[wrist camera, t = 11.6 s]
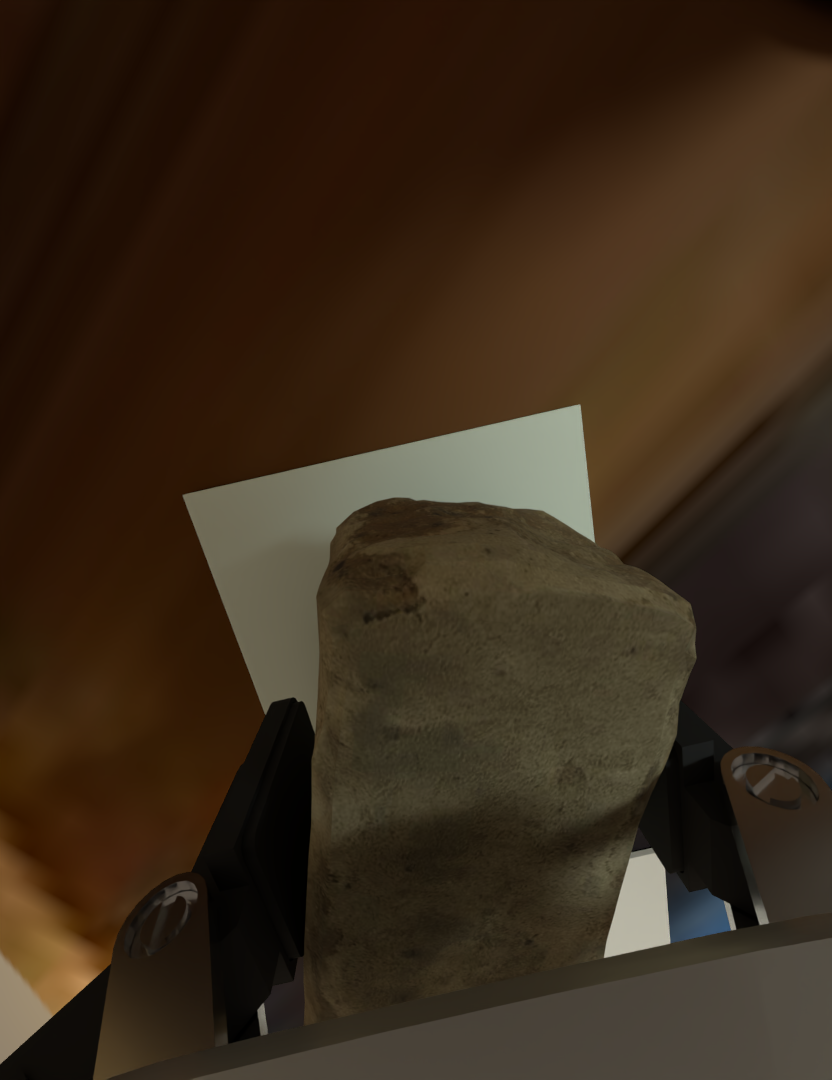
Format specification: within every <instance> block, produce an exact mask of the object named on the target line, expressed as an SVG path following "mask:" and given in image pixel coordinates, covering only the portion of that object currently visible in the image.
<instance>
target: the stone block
mask: <svg viewBox="0 0 832 1080" xmlns="http://www.w3.org/2000/svg"><path fill="white" fill-rule="evenodd" d="M316 601H317V618H318V634H319V676H318V698H317V714H316V730H315V745H314V750H313V756H312V807H311V833H310V845H309V858H308V877H307V897H306V917H305V938H304V994H305V1014H304V1026H306V1025H310V1024H314V1023H319V1022H323V1021H327V1020H331V1019H336V1018H340V1017H344V1016H349V1015H353V1014H357V1013H362V1012H366V1011H370V1010H375V1009H379V1008H383V1007H388V1006H392V1005H396V1004H401V1003H405V1002H409V1001H414V1000H418V999H423V998H427V997H432V996H436V995H440V994H445V993H449V992H454V991H458V990H463V989H467V988H471V987H476V986H480V985H485V984H489V983H494V982H498V981H503V980H507V979H511V978H516V977H520V976H525V975H529V974H534V973H538V972H543V971H547V970H552V969H556V968H561V967H565V966H570V965H574V964H579V963H583V962H588V961H593V960H597V959H602V958H604V954H605V948H606V942H607V938H608V935H609V931H610V928H611V924H612V921H613V917H614V913H615V909H616V906H617V902H618V898H619V894H620V890H621V887H622V883H623V880H624V877H625V873H626V870H627V866H628V863H629V859H630V855H631V851H632V847H633V844H634V840H635V836H636V832H637V829H638V825H639V823H640V820H641V818H642V816H643V813H644V811H645V808H646V806H647V803H648V801H649V798H650V796H651V793H652V791H653V789H654V787H655V785H656V783H657V781H658V779H659V777H660V775H661V773H662V771H663V769H664V767H665V765H666V762H667V759H668V757H669V754H670V751H671V749H672V746H673V743H674V741H675V738H676V735H677V725H678V713H679V702H680V700H681V697H682V694H683V691H684V688H685V686H686V683H687V680H688V677H689V675H690V673H691V670H692V668H693V666H694V664H695V661H696V651H695V635H696V625H695V621H694V616H693V612H692V608H691V604H690V603H689V602H688V601H686V600H685V599H683V598H682V597H681V596H679V595H678V594H677V593H675V592H674V591H673V590H671V589H670V588H669V587H667V586H666V585H665V584H663V583H662V582H661V581H659V580H658V579H656V578H655V577H653V576H652V575H650V574H648V573H647V572H645V571H643V570H641V569H639V568H637V567H633V566H628V565H624V564H623V563H622V562H621V560H620V559H619V558H618V557H617V556H616V555H615V554H613V553H612V552H611V551H610V550H607V549H604V548H601V547H599V546H598V545H597V544H596V543H594V542H593V541H592V540H590V539H588V538H587V537H585V536H583V535H582V534H580V533H578V532H577V531H575V530H574V529H572V528H571V527H569V526H568V525H566V524H565V523H563V522H561V521H560V520H558V519H557V518H555V517H553V516H551V515H550V514H548V513H546V512H544V511H542V510H533V509H512V508H508V507H503V506H497V505H490V504H484V503H481V502H461V503H456V502H436V501H429V500H418V501H416V500H413V499H411V498H401V497H394V498H389V499H385V500H380V501H376V502H374V503H372V504H369V505H367V506H365V507H363V508H361V509H358V510H357V511H354V512H353V513H352V514H351V515H349V516H348V517H347V518H346V519H345V520H344V521H343V522H342V523H341V524H340V525H339V526H338V527H337V528H336V534H335V536H334V538H333V539H332V541H331V542H330V560H329V564H328V567H327V569H326V571H325V573H324V576H323V578H322V580H321V583H320V585H319V589H318V592H317V595H316Z"/></svg>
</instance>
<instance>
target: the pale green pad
mask: <svg viewBox="0 0 832 1080" xmlns="http://www.w3.org/2000/svg"><path fill="white" fill-rule="evenodd" d="M182 496H183V498H184V501H185V504H186V506H187V509H188V511H189V514H190V517H191V519H192V522H193V525H194V527H195V530H196V533H197V535H198V538H199V541H200V543H201V546H202V549H203V551H204V554H205V557H206V559H207V562H208V564H209V567H210V570H211V572H212V575H213V578H214V580H215V583H216V586H217V588H218V591H219V594H220V596H221V599H222V602H223V604H224V607H225V610H226V612H227V615H228V617H229V620H230V623H231V625H232V628H233V631H234V633H235V636H236V639H237V641H238V644H239V647H240V649H241V652H242V655H243V657H244V660H245V663H246V665H247V668H248V670H249V673H250V676H251V678H252V681H253V684H254V686H255V689H256V692H257V694H258V697H259V700H260V702H261V705H262V708H263V710H264V713H265V715H266V713H267V711H268V709H269V706H270V705H271V703H272V702H274V701H279V700H283V699H287V698H292V697H294V698H296V700H297V701H298V702H300V701H303V702H304V704H305V706H306V709H307V712H308V715H309V718H310V721H311V724H312V727H313V729H314V732H315V730H316V714H317V698H318V676H319V634H318V618H317V601H316V595H317V592H318V589H319V585H320V583H321V580H322V578H323V576H324V573H325V571H326V569H327V567H328V564H329V560H330V542H331V541H332V539H333V538H334V536H335V534H336V528H337V527H338V526H339V525H340V524H341V523H342V522H343V521H344V520H345V519H346V518H347V517H348V516H349V515H351V514H352V513H353V512H354V511H357V510H358V509H361V508H363V507H365V506H367V505H369V504H372V503H374V502H376V501H380V500H385V499H389V498H394V497H401V498H411V499H413V500H416V501H418V500H429V501H436V502H456V503H461V502H481V503H484V504H490V505H497V506H503V507H508V508H512V509H533V510H542V511H544V512H546V513H548V514H550V515H551V516H553V517H555V518H557V519H558V520H560V521H561V522H563V523H565V524H566V525H568V526H569V527H571V528H572V529H574V530H575V531H577V532H578V533H580V534H582V535H583V536H585V537H587V538H588V539H590V540H592V541H593V542H594V543H595V541H594V531H593V522H592V512H591V503H590V493H589V484H588V474H587V464H586V455H585V445H584V436H583V426H582V417H581V407H580V405H574V406H570V407H565V408H561V409H556V410H552V411H548V412H543V413H539V414H535V415H530V416H526V417H521V418H517V419H513V420H508V421H504V422H499V423H495V424H491V425H486V426H482V427H478V428H473V429H469V430H464V431H460V432H456V433H451V434H447V435H442V436H438V437H434V438H429V439H425V440H420V441H416V442H412V443H407V444H403V445H399V446H394V447H390V448H385V449H381V450H377V451H372V452H368V453H363V454H359V455H355V456H350V457H346V458H342V459H337V460H333V461H328V462H324V463H320V464H315V465H311V466H306V467H302V468H298V469H293V470H289V471H284V472H280V473H276V474H271V475H267V476H263V477H258V478H254V479H249V480H245V481H241V482H236V483H232V484H227V485H223V486H219V487H214V488H210V489H206V490H201V491H197V492H192V493H188V494H185V495H182Z"/></svg>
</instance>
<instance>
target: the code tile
mask: <svg viewBox="0 0 832 1080" xmlns="http://www.w3.org/2000/svg"><path fill="white" fill-rule="evenodd" d="M666 944H670V932H669V919H668V905H667V891H666V877H665V868H664V866H663V865H662V863H661V862H660V860H659V858H658V857H657V855H656V854H655V852H654V850H653V849H652V848H649V849H645V850H640V851H636V852H631V855H630V859H629V863H628V866H627V870H626V873H625V877H624V880H623V883H622V887H621V890H620V894H619V898H618V902H617V906H616V909H615V913H614V917H613V921H612V924H611V928H610V931H609V935H608V938H607V942H606V948H605V954H604V958H606V957H611V956H615V955H620V954H625V953H629V952H634V951H638V950H643V949H648V948H652V947H657V946H661V945H666Z"/></svg>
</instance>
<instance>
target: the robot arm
mask: <svg viewBox="0 0 832 1080" xmlns="http://www.w3.org/2000/svg"><path fill="white" fill-rule="evenodd" d="M314 745H315V732H314V729H313V727H312V724H311V721H310V718H309V715H308V712H307V709H306V706H305V704H304V702H303V701H300V702H298V701H297V700H296V698H294V697H292V698H287V699H283V700H279V701H274V702H272V703H271V705H270V706H269V709H268V711H267V713H266V715H265V718H264V720H263V722H262V724H261V726H260V729H259V731H258V733H257V735H256V738H255V740H254V742H253V744H252V746H251V749H250V751H249V753H248V755H247V757H246V760H245V762H244V763H243V764H242V765H241V766H240V768H239V769H238V771H237V773H236V775H235V778H234V780H233V782H232V784H231V786H230V789H229V791H228V793H227V795H226V797H225V799H224V802H223V804H222V806H221V808H220V810H219V813H218V815H217V817H216V819H215V821H214V823H213V826H212V828H211V830H210V832H209V834H208V836H207V839H206V841H205V843H204V845H203V847H202V850H201V852H200V854H199V856H198V858H197V860H196V863H195V865H194V867H193V869H192V871H191V872H186V873H182V874H178V875H175V876H173V877H171V878H169V879H167V880H165V881H164V882H162V883H161V884H160V885H158V886H157V887H155V888H154V889H153V890H151V891H150V892H149V893H148V894H147V895H146V896H145V897H144V898H143V899H142V900H141V901H140V902H139V903H138V904H137V905H136V907H135V908H134V909H133V910H132V912H131V913H130V914H129V916H128V917H127V918H126V920H125V922H124V924H123V926H122V927H121V929H120V931H119V933H118V935H117V939H116V942H115V945H114V948H113V955H112V961H111V964H110V965H109V966H108V967H107V968H106V969H105V970H104V971H103V972H102V973H100V974H99V975H98V976H97V977H96V978H95V979H94V980H93V981H92V982H91V983H89V984H88V985H87V986H86V987H85V988H84V989H83V990H82V991H81V992H79V993H78V994H77V995H76V996H75V997H74V998H73V999H72V1000H71V1001H70V1002H68V1003H67V1004H66V1005H65V1006H64V1007H63V1008H62V1009H61V1010H60V1011H59V1012H57V1013H56V1014H55V1015H54V1016H53V1017H52V1018H51V1019H50V1020H49V1021H48V1022H46V1023H45V1024H44V1025H43V1026H42V1027H41V1028H40V1029H39V1030H38V1031H37V1032H36V1033H34V1034H33V1035H32V1036H31V1037H30V1038H29V1039H28V1040H27V1041H26V1042H25V1043H23V1044H22V1045H21V1046H20V1047H19V1048H18V1049H17V1050H16V1051H15V1052H13V1053H12V1054H11V1055H10V1056H9V1057H8V1058H7V1059H6V1060H5V1061H3V1062H2V1063H1V1064H0V1080H832V791H831V790H830V788H829V787H828V785H827V784H826V783H825V781H824V780H823V779H822V778H821V776H820V775H818V774H817V773H816V772H815V771H813V770H812V769H811V768H810V767H808V766H807V765H806V764H804V763H802V762H800V761H799V760H797V759H795V758H793V757H791V756H789V755H786V754H783V753H781V752H778V751H775V750H771V749H766V748H761V747H740V748H736V749H733V748H732V747H731V746H729V745H728V744H727V743H726V742H725V741H724V740H723V739H722V738H721V737H720V736H719V735H718V734H717V733H715V732H714V731H713V730H712V729H711V728H710V727H709V726H708V725H707V724H706V723H705V722H704V721H703V720H701V719H700V718H699V717H698V716H697V715H696V714H695V713H694V712H693V711H692V710H691V709H690V708H689V707H687V706H686V705H685V704H684V703H683V702H682V701H681V700H680V702H679V713H678V725H677V735H676V738H675V741H674V743H673V746H672V749H671V751H670V754H669V757H668V759H667V762H666V765H665V767H664V769H663V771H662V773H661V775H660V777H659V779H658V781H657V783H656V785H655V787H654V789H653V791H652V793H651V796H650V798H649V801H648V803H647V806H646V808H645V811H644V813H643V816H642V818H641V820H640V823H639V825H638V826H639V828H640V830H641V831H642V833H643V834H644V836H645V838H646V839H647V841H648V842H649V844H650V846H651V847H652V849H653V850H654V852H655V854H656V855H657V857H658V858H659V860H660V862H661V863H662V865H663V866H664V868H665V869H666V870H667V871H668V872H669V873H676V872H677V874H678V876H679V877H680V879H681V880H682V882H683V883H684V885H685V886H686V888H687V889H688V891H689V892H692V891H697V890H701V889H706V888H708V889H709V891H710V892H711V894H712V895H714V896H716V897H718V898H720V899H722V900H724V903H725V907H726V911H727V915H728V919H729V923H730V927H731V931H727V932H722V933H717V934H712V935H707V936H703V937H698V938H694V939H689V940H684V941H680V942H675V943H671V944H666V945H661V946H657V947H652V948H648V949H643V950H638V951H634V952H629V953H625V954H620V955H615V956H611V957H606V958H602V959H597V960H593V961H588V962H583V963H579V964H574V965H570V966H565V967H561V968H556V969H552V970H547V971H543V972H538V973H534V974H529V975H525V976H520V977H516V978H511V979H507V980H503V981H498V982H494V983H489V984H485V985H480V986H476V987H471V988H467V989H463V990H458V991H454V992H449V993H445V994H440V995H436V996H432V997H427V998H423V999H418V1000H414V1001H409V1002H405V1003H401V1004H396V1005H392V1006H388V1007H383V1008H379V1009H375V1010H370V1011H366V1012H362V1013H357V1014H353V1015H349V1016H344V1017H340V1018H336V1019H331V1020H327V1021H323V1022H319V1023H314V1024H310V1025H306V1026H301V1027H297V1028H293V1029H288V1030H284V1031H280V1032H275V1033H271V1034H268V1030H267V1024H266V1017H265V1010H264V1001H265V1000H266V999H267V998H268V996H269V995H270V994H271V989H272V986H274V985H279V984H283V983H287V982H292V981H294V975H295V970H296V964H297V959H298V957H302V956H303V955H304V938H305V917H306V897H307V877H308V858H309V845H310V833H311V807H312V756H313V750H314Z"/></svg>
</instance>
